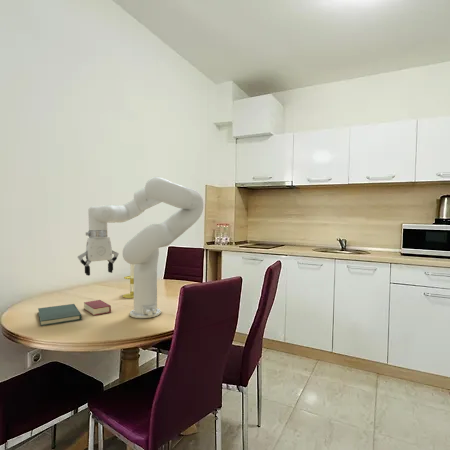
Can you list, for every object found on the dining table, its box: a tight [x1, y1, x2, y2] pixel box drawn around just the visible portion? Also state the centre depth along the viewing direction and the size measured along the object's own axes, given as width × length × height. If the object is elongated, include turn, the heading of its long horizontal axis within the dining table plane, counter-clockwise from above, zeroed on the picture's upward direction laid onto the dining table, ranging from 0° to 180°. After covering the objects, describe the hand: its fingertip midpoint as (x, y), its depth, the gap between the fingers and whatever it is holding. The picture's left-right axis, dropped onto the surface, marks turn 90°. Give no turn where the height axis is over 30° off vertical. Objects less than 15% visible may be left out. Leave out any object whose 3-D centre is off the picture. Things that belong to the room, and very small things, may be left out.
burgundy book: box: [83, 299, 112, 317], centre depth 141 cm, size 13×7×3 cm, turn 41°
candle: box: [122, 264, 135, 299], centre depth 168 cm, size 10×10×27 cm
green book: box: [37, 303, 82, 327], centre depth 133 cm, size 20×14×2 cm
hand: (99, 273), depth 141 cm, fingers open, 9 cm apart
